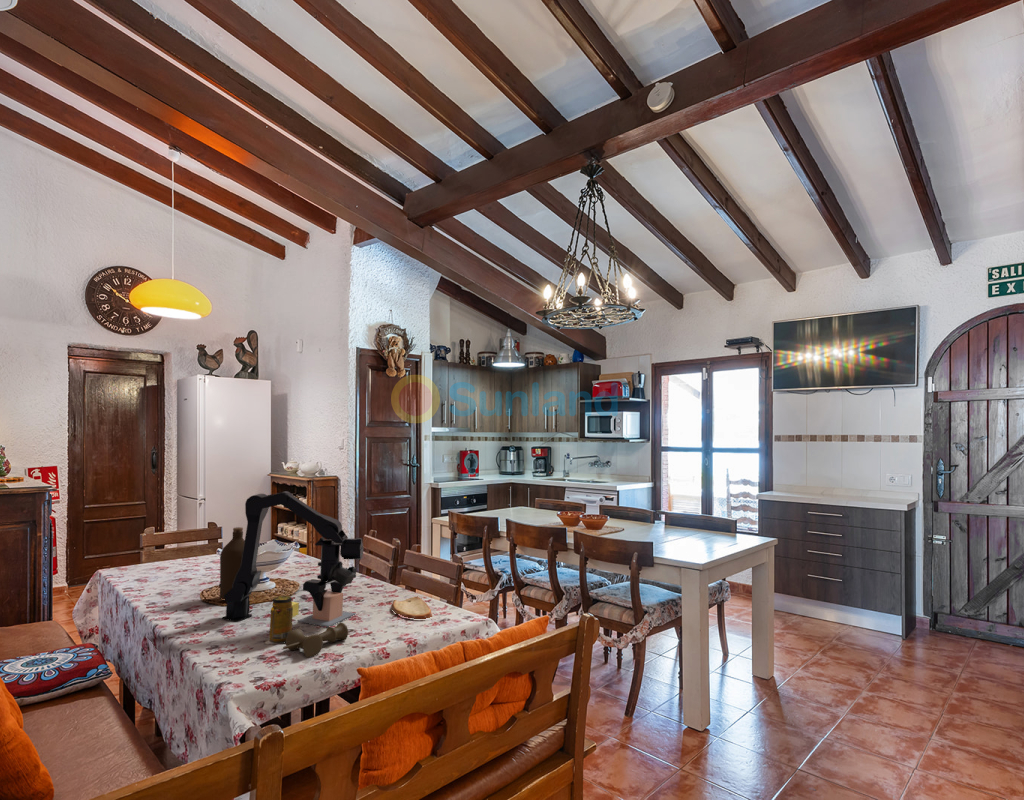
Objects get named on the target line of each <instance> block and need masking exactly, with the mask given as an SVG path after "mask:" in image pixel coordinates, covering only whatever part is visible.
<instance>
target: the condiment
mask: <svg viewBox="0 0 1024 800" xmlns="http://www.w3.org/2000/svg"><path fill="white" fill-rule="evenodd" d="M292 600H293V598H292V596H290V595H279V596H276V597H274V598H273V599H272V605H271V606H272V607H271V608H270V621H269V622H270V623H269V638H268V640H266V641H265V642H264V644H265V645H266V644H268V645H269V644H270V645H273V644H274V645H275V644H276V645H278V644H285V643H284V642H286V638H287V636H288V634H289V633H290V632H291V631H292V630H293V617H292V616H293V606H292V602H293V601H292Z"/></svg>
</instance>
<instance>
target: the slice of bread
mask: <svg viewBox="0 0 1024 800" xmlns="http://www.w3.org/2000/svg"><path fill="white" fill-rule="evenodd" d="M391 609H392V610H393V611H394V612H395V613H396V614H400V615H402V616H404V617H408V618H414V619H426V618H430V617H433V613H432V609H431V608H430V606H429V605H428V604H427V602H426V601H424V599H421V597H419V595H417V596H413V597H409V598H407V599H404V600H397V599H395V600H393V601H392V603H391V606H390V610H391ZM392 610H391V611H392Z"/></svg>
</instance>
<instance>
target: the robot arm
mask: <svg viewBox="0 0 1024 800" xmlns="http://www.w3.org/2000/svg"><path fill="white" fill-rule="evenodd" d="M280 505H281V506H283V507H285V508H286V509H288V510H289V511H290V512H292V513H294V514H295V515H297V516H298V517H299V518H301V519H303V520H304V521H306V522H308V523H309V524H310V525H311V526H312V527H313V529H314V530H315V531H316V532H317V533H318V534H319V535H320V536H321V537H320V538H319V539H318V541H317V542H316V543H314V546H318V547H319V546H320V547H321V548H320V549H321V550H320V551H321V552H320V553H321V554H320V561H319V562H317V566H318V567H320V571H319V572H320V574H318V575H317V578H316V579H315V578H313V579H309V580H305V581H304V582H303V583H302V591H303V592H304V591H305V592H307V593H309V594H310V596H311V598H312V599H313V600H314V602H315V604H316V606H317V609H318V610H319V611H322V607H323V599H324V594H325V593H326V592H327V591H329V590H327V589H326V587H327V586H328V585H330V591H332V592H339V593H343V590H344V588H345V587H347V585H349V584H352V583H353V580H354V579H355V578H357V567H355V566H353V565H352V566H349V567H343V562H342V561H341V560H340V557H341V558H343V560H362V559H363V557H364V549H365V548H364V543H363V538H361V537H358V538H348V536H347V534H346V533H345V531H344V530H343V525H342V524H343V523H342V522H341V521H340V520H338V519H336V518H334V517H332V516H329V515H326V514H322V513H320V512H318V511H317V510H316V509H314V508H312V507H311V506H309V505H308V504H307V503H305V502H303V501H302V500H300V499H299V498H298V497H296V496H295V495H293V494H292V493H291V492H290V491H282V492H278V493H272V494H268V495H267V494H265V493H257V494H254V495H251V496H249V497H248V498H247V499H246V501H245V505H244V506H245V507H244V509H245V512H244V513H245V517H246V521H247V523H246V531H245V536H244V537H245V538H244V540H245V542H244V549H243V555H242V561H241V566H240V568H239V570H238V572H237V574H236V576H235V579H234V582H233V585H232V589H230V590H229V591H228V592H227V593H226V594H225V595H224V598H225V601H226V610H225V612H226V613H225V616H222V617H221V618H222V620H226V621H232V622H240V621H242V620H245V619H248V618H250V617H253V614H252V613H250V605H251V604H250V595H251V594H252V591H253V590H255V589H256V588H257V587H258V584H260V583H261V581H260V580H261V573H262V570H261V569H260V570H258V568H257V559H258V555H259V548H260V547H259V546H260V540H261V535H262V534H261V533H262V527H263V521H264V520H265V518H266V516H267V514H268V511H269V508H271V507H275V506H280ZM248 595H249V596H248ZM313 600H312V601H313ZM225 601H224V602H225Z"/></svg>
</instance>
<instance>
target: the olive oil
mask: <svg viewBox="0 0 1024 800" xmlns="http://www.w3.org/2000/svg"><path fill="white" fill-rule="evenodd" d="M232 530H233V531H232V539H231V540H230V541H229V542H228V543H227V544H226V545H225V546H224V547H223V548H222V550H221V552H220V555H219V575H220V576H219V577H220V578H219V584H218V585H219V587H218V588H219V599H220V598H222V599H225V598H224V595H225V594H226V593H227V592H228V591H229V590H230V589H232V585H233V582H234V579H235V576H236V574H237V572H238V570H239V568H240V566H241V561H242V555H243V549H244V542H245V538H243V537H244V536H243V535H244V531H243V530H244V528H243V527H242V526H241V527H240V526H238V527H237V526H236V527H233V529H232ZM248 596H249V597H250V595H248Z"/></svg>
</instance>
